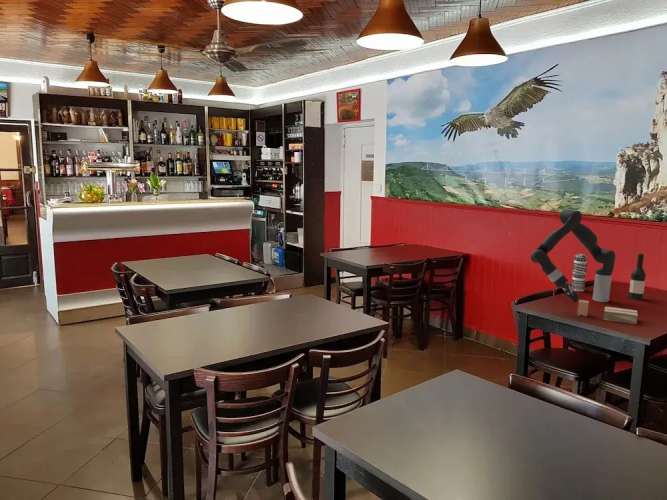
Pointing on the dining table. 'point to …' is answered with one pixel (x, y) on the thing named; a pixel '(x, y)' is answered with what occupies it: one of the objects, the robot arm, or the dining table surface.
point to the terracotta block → (583, 307)
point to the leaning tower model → (579, 272)
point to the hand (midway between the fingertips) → (577, 299)
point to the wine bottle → (637, 280)
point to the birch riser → (620, 315)
